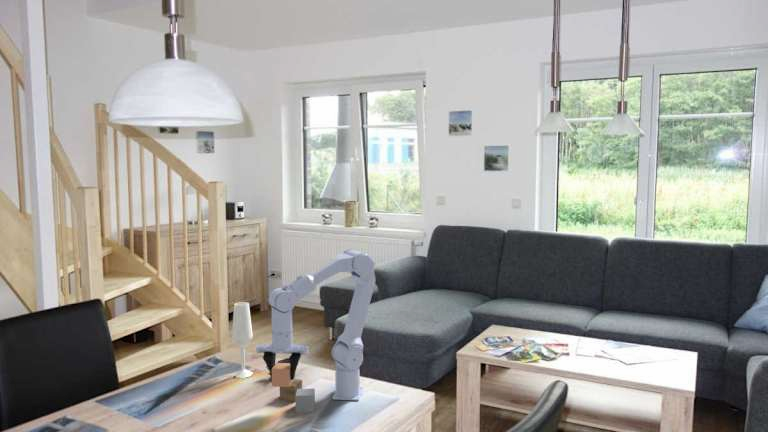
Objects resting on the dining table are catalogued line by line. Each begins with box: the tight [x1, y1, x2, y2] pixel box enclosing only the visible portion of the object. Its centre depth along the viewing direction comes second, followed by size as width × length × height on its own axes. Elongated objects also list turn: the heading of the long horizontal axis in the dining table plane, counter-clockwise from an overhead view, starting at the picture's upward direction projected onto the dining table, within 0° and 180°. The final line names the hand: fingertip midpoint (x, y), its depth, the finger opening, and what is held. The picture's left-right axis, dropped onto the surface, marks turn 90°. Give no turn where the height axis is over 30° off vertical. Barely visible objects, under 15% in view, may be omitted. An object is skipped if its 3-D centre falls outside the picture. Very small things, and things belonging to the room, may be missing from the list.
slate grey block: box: [295, 388, 316, 413], centre depth 170 cm, size 5×5×5 cm
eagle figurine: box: [266, 357, 299, 381], centre depth 194 cm, size 8×7×9 cm
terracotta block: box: [271, 362, 295, 388], centre depth 168 cm, size 5×5×5 cm
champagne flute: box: [231, 301, 254, 379], centre depth 195 cm, size 7×7×24 cm
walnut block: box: [279, 378, 303, 403], centre depth 178 cm, size 5×5×5 cm
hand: (283, 378), depth 168 cm, fingers closed on terracotta block, 5 cm apart
